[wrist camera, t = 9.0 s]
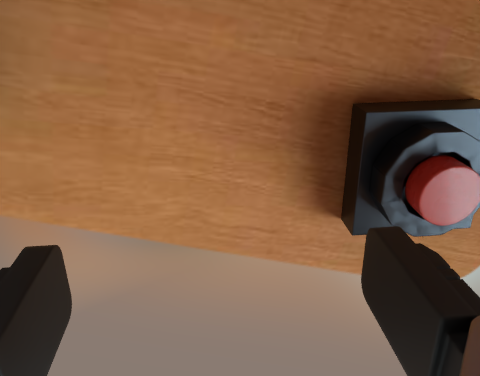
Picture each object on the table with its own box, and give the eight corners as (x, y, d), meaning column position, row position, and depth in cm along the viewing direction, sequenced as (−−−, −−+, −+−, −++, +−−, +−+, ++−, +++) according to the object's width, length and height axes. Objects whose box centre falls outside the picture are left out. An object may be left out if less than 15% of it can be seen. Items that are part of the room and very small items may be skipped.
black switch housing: (451, 212, 30) (487, 242, 26) (341, 219, 29) (362, 251, 26) (476, 98, 27) (522, 115, 23) (352, 103, 26) (379, 121, 22)
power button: (457, 210, 25) (475, 224, 24) (400, 213, 25) (414, 228, 24) (470, 153, 24) (490, 164, 22) (409, 156, 24) (425, 167, 22)
